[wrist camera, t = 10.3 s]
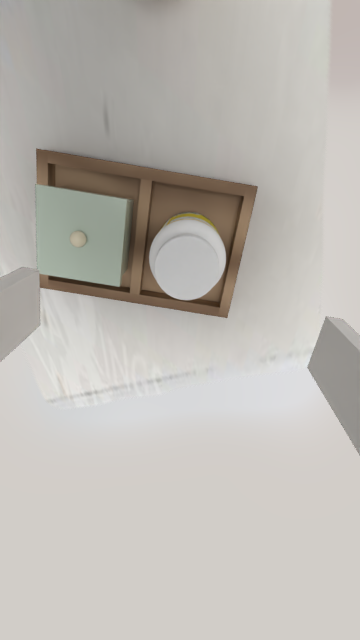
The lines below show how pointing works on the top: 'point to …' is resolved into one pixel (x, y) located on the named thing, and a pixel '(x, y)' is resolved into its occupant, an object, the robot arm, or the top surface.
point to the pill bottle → (187, 256)
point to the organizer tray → (154, 224)
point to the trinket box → (82, 234)
